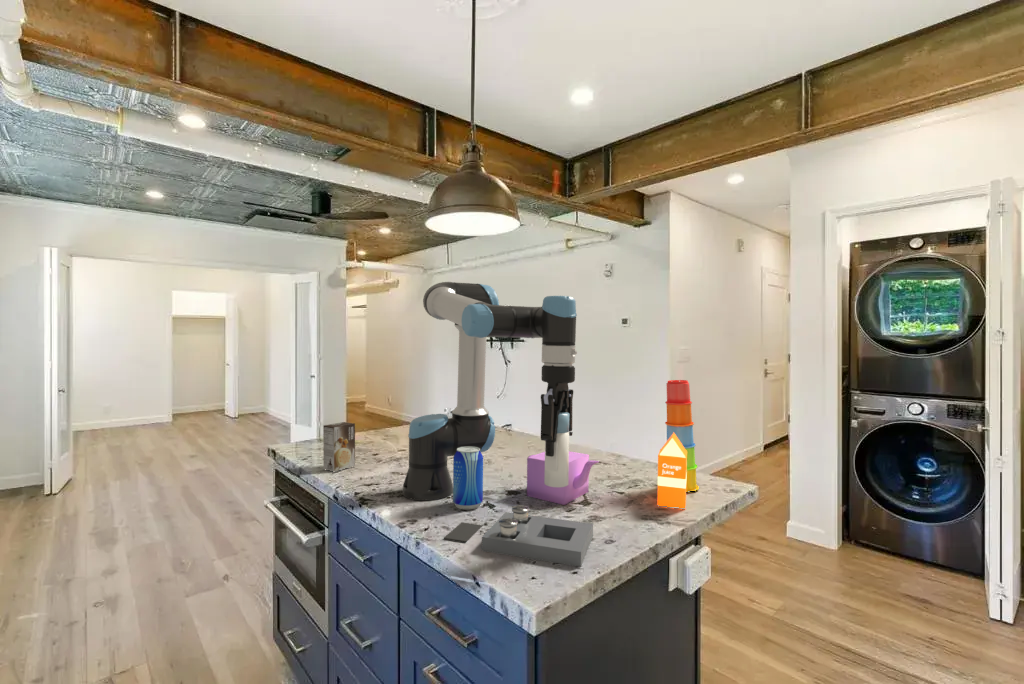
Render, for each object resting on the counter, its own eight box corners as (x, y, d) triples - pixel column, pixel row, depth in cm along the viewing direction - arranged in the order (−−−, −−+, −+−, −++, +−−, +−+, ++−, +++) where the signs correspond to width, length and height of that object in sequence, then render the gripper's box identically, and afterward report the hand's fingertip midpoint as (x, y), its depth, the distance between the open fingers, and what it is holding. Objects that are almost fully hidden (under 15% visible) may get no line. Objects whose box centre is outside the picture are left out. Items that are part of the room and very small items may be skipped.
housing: (481, 552, 104) (481, 536, 104) (505, 525, 119) (505, 512, 119) (580, 569, 97) (581, 552, 97) (592, 538, 112) (593, 523, 112)
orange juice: (656, 506, 134) (657, 436, 134) (659, 496, 143) (660, 430, 143) (686, 510, 132) (686, 438, 132) (686, 500, 140) (687, 432, 140)
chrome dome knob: (496, 543, 104) (496, 523, 104) (502, 536, 108) (502, 517, 108) (514, 546, 103) (514, 526, 103) (520, 539, 107) (520, 519, 107)
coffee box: (344, 464, 176) (344, 421, 176) (355, 467, 172) (355, 423, 172) (322, 470, 168) (323, 425, 168) (333, 472, 165) (334, 427, 165)
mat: (443, 539, 111) (443, 537, 111) (461, 523, 120) (461, 522, 120) (483, 545, 107) (483, 543, 107) (498, 529, 117) (498, 527, 117)
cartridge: (556, 489, 103) (557, 416, 103) (539, 482, 107) (540, 412, 107) (573, 484, 107) (574, 413, 106) (556, 478, 111) (557, 410, 111)
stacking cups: (691, 495, 144) (692, 382, 144) (659, 488, 151) (660, 380, 151) (704, 488, 152) (705, 380, 152) (673, 481, 159) (674, 378, 159)
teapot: (586, 511, 130) (587, 460, 130) (513, 493, 145) (514, 447, 145) (609, 496, 143) (610, 450, 143) (540, 481, 157) (540, 439, 157)
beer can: (485, 509, 131) (486, 451, 131) (455, 511, 128) (456, 453, 128) (479, 499, 139) (479, 444, 139) (450, 501, 137) (451, 446, 136)
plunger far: (509, 528, 113) (509, 510, 113) (514, 522, 117) (515, 504, 117) (526, 531, 111) (526, 512, 111) (531, 524, 115) (531, 506, 115)
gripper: (557, 367, 97) (555, 480, 97) (587, 363, 113) (586, 460, 113) (525, 365, 100) (523, 474, 101) (558, 362, 116) (557, 455, 117)
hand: (556, 466), depth 107 cm, fingers closed on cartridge, 5 cm apart
